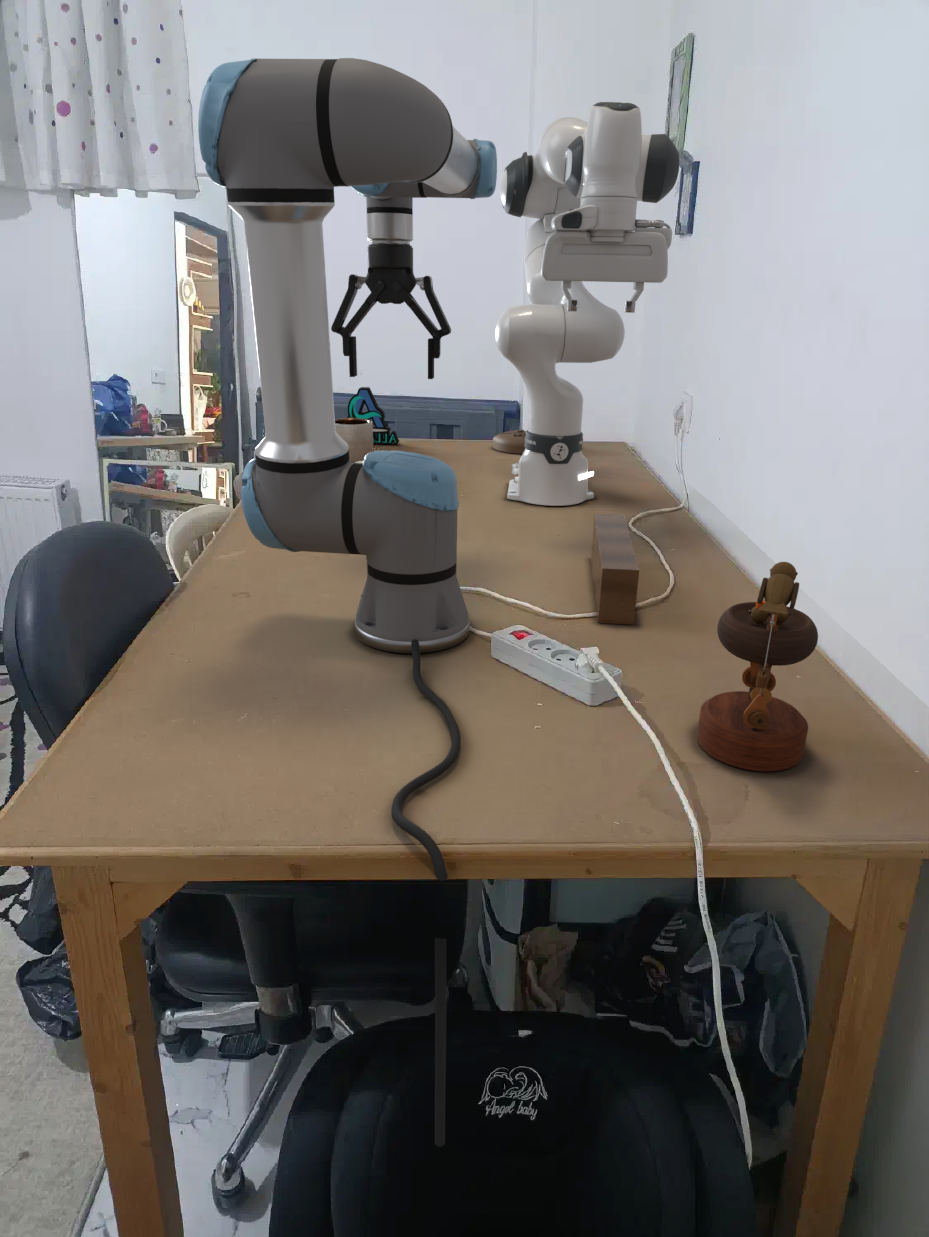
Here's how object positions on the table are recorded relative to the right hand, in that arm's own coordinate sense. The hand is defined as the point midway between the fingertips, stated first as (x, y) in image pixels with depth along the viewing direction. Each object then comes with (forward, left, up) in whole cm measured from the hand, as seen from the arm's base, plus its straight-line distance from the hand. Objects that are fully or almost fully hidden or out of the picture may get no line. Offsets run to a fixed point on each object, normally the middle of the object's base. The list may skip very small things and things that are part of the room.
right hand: (600, 312), depth 139 cm
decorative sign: (-93, -40, -39) cm, 108 cm away
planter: (-71, -43, -39) cm, 91 cm away
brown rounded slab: (-78, +5, -39) cm, 88 cm away
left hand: (-7, -34, -11) cm, 37 cm away
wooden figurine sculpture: (+72, 0, -39) cm, 82 cm away
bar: (+26, -2, -39) cm, 47 cm away
